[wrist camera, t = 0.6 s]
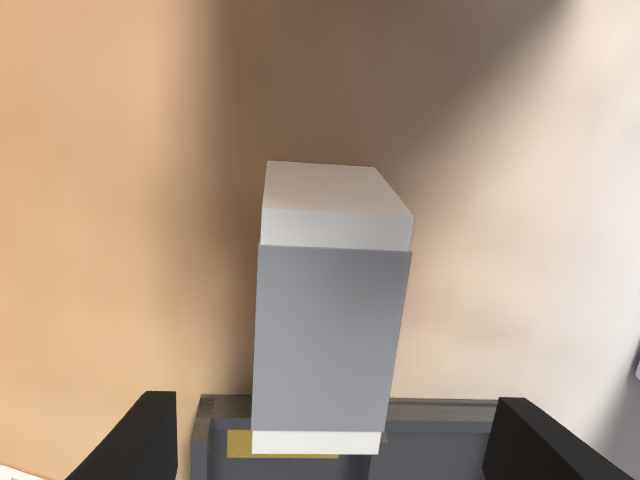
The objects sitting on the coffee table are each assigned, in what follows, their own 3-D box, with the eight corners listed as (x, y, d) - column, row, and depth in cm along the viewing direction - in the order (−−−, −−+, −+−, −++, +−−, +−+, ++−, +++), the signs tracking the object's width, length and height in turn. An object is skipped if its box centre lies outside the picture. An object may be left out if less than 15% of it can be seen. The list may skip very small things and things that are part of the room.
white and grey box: (375, 166, 19) (417, 217, 13) (353, 349, 22) (380, 456, 16) (266, 159, 18) (259, 209, 13) (258, 346, 21) (250, 456, 15)
